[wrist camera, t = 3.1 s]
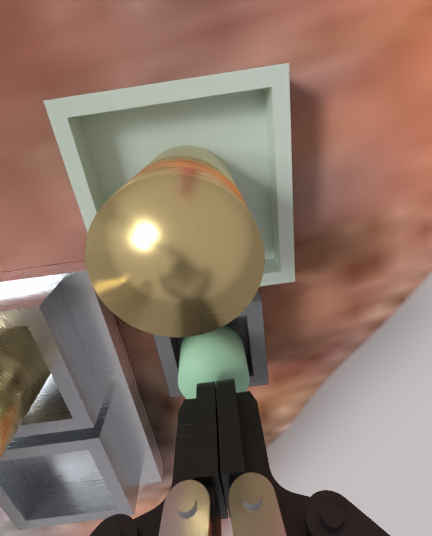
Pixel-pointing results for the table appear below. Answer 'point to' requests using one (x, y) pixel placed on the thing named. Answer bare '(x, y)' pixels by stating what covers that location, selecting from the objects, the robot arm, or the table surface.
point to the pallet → (74, 407)
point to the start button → (212, 361)
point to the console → (253, 341)
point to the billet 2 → (176, 247)
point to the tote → (189, 144)
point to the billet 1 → (18, 379)
